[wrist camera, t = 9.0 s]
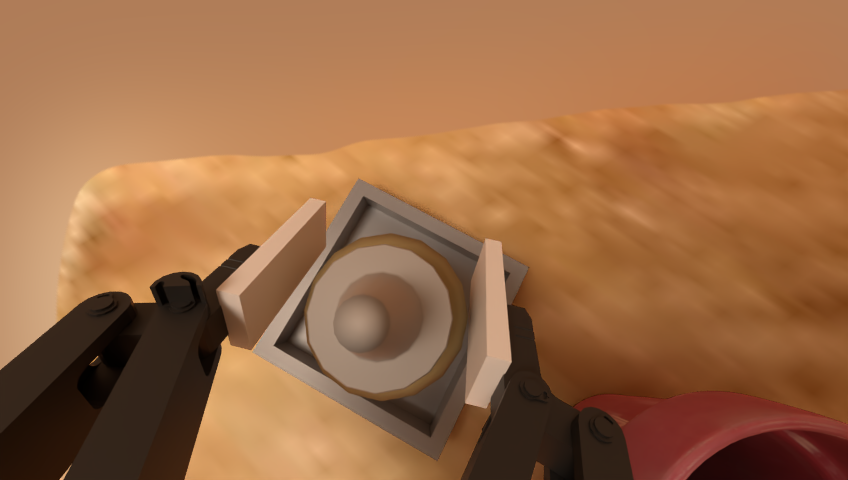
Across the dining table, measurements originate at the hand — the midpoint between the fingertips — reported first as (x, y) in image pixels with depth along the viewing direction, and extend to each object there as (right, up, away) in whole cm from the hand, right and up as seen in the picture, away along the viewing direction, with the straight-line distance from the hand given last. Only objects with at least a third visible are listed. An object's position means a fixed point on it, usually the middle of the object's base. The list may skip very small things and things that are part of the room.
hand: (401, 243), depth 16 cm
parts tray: (-1, -5, +9) cm, 11 cm away
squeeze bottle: (-1, -5, +9) cm, 10 cm away
